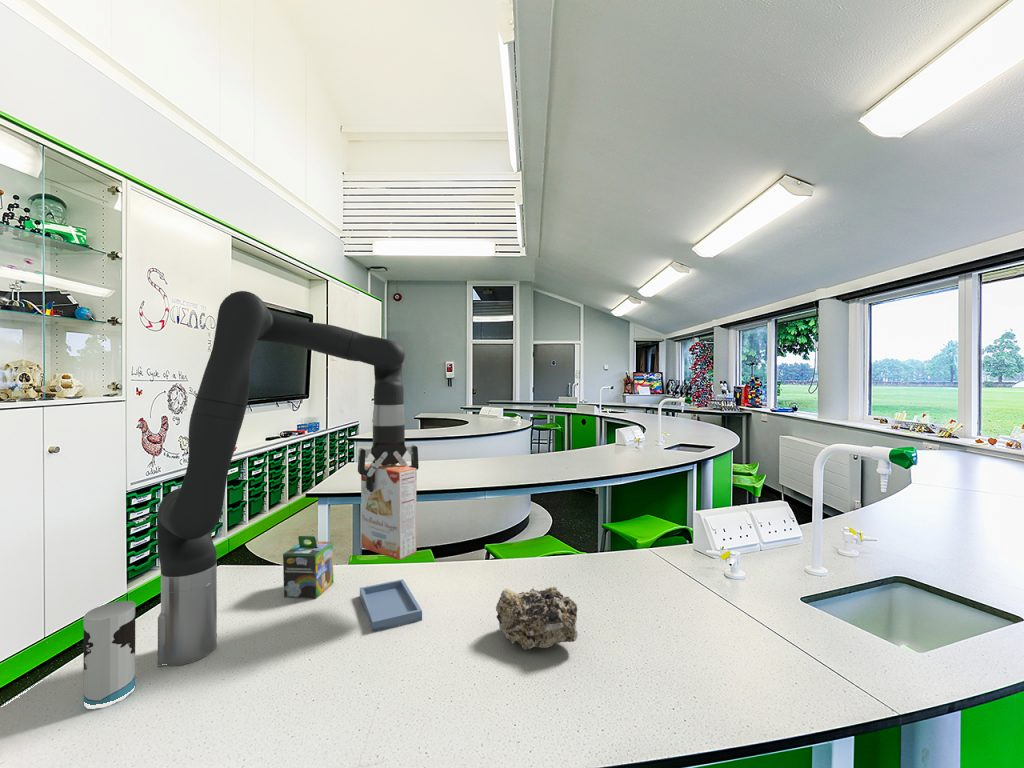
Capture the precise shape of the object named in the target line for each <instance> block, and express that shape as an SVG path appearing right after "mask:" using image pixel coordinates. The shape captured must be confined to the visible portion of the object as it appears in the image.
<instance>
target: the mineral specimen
mask: <svg viewBox="0 0 1024 768" xmlns="http://www.w3.org/2000/svg"><path fill="white" fill-rule="evenodd" d="M495 611H496V612H497V615H496V619H497V621H498V625H499V630H501V633H504V635H505V638H506V639H507V640H509V641H510V643H512V644H514V643H515V642H517V643H519V644H520V645H521V647H522V649H524V650H531V649H532V648H534V647H536V648H550V647H552V646H553V645H554V644H555V643H557V644H560V643H571V642H572V643H574V642H575V641H577V639H578V636H579V635H578V634H579V633H578V630H577V620H578V614H577V613H578V605H577V603H575V601H574V600H572V599H571V598H570V597H569V596H564V595H563V594H562V593H561V592H560V591H559V590H558V589H557V587H556V586H549V587H547V588H545V589H544V590H543V589H542V590H537V589H536V590H535V588H531V589H530V590H529V591H526V592H525V591H522V592H520V593H516V592H514V591H512V590H510V589H508V588H504V589H503V590H502V591H501V593H500V597H499V599H498V602H497V603H496V606H495Z"/></svg>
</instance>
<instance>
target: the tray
mask: <svg viewBox="0 0 1024 768" xmlns="http://www.w3.org/2000/svg"><path fill="white" fill-rule="evenodd" d="M359 598H360V601H361V604H362V606H363V609H364V612H365V615H366V619H367V621H368V624H369V626H370V629H371V632H372V633H375V632H378V631H383V630H388V629H390V628H392V629H393V628H395V627H400V626H403V625H407V624H412V623H415V622H419V621H420V622H421V621H423V610H422V608H421V607H420V605H419V603H418V601H417V600H416V598H415V597H414V595H413V593H412V592H411V590H410V588H409V586H408V585H407V583H406V582H405V580H404V579H403V578H402V579H398V580H392V581H386V582H382V583H376V584H373V585H367V586H362V587H359Z"/></svg>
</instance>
